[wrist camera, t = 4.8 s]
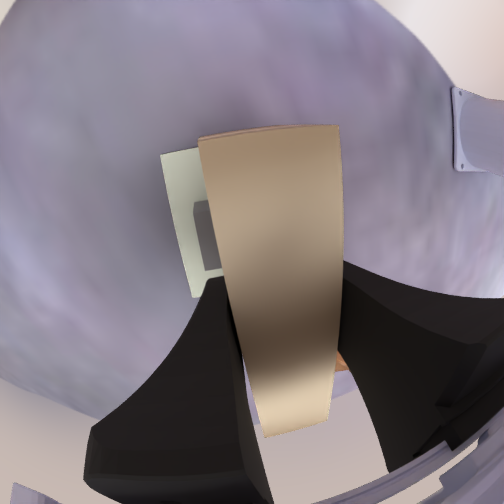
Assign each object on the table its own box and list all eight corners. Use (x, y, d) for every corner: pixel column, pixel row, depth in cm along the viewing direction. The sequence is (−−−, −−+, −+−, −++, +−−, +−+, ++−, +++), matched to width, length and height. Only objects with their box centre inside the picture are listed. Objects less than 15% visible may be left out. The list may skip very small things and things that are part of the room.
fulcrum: (289, 135, 16) (306, 136, 13) (298, 273, 20) (313, 294, 18) (161, 154, 15) (153, 159, 13) (192, 293, 20) (192, 318, 17)
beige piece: (297, 351, 15) (327, 420, 11) (246, 363, 15) (264, 437, 10) (277, 125, 10) (338, 124, 5) (198, 136, 9) (197, 141, 5)
